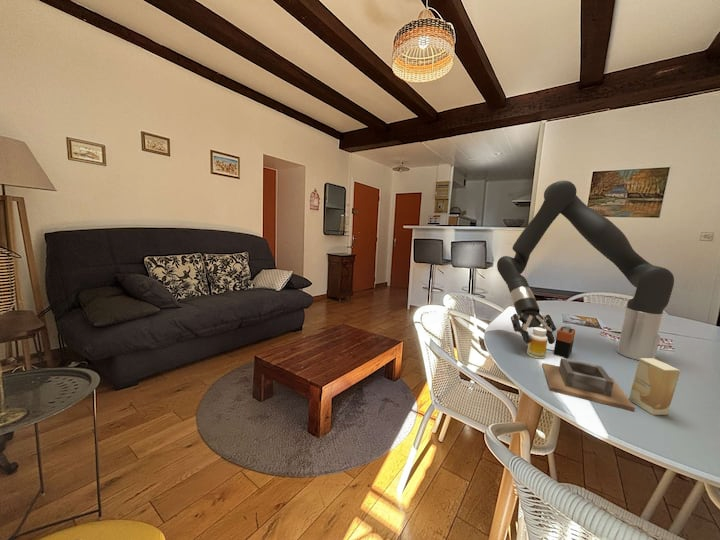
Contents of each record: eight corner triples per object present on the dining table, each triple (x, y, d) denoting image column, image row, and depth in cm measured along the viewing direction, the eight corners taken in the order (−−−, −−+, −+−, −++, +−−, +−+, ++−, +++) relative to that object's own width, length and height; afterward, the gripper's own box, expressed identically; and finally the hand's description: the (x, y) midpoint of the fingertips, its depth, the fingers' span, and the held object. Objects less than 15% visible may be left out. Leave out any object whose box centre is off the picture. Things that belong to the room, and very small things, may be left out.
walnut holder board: (612, 381, 86) (615, 365, 86) (634, 411, 72) (638, 393, 71) (541, 365, 94) (544, 351, 93) (549, 390, 80) (552, 373, 79)
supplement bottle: (547, 359, 98) (551, 332, 97) (530, 357, 99) (534, 330, 98) (540, 353, 104) (545, 327, 102) (524, 351, 105) (528, 325, 103)
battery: (571, 353, 105) (576, 327, 103) (567, 358, 100) (572, 331, 99) (557, 349, 108) (561, 323, 106) (553, 354, 103) (557, 327, 102)
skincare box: (627, 400, 77) (637, 357, 75) (642, 399, 77) (652, 357, 75) (653, 416, 71) (665, 369, 69) (669, 415, 71) (681, 369, 69)
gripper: (511, 296, 105) (527, 338, 96) (548, 297, 106) (567, 339, 97) (501, 305, 111) (515, 346, 102) (536, 306, 112) (553, 347, 103)
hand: (540, 343), depth 99 cm, fingers open, 8 cm apart
